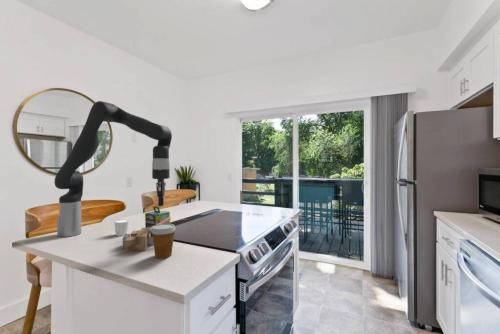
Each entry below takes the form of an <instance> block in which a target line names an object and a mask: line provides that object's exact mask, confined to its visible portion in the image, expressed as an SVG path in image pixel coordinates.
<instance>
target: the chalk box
mask: <svg viewBox="0 0 500 334" xmlns="http://www.w3.org/2000/svg"><path fill="white" fill-rule="evenodd" d="M152 208H153V211H150V212H146V213H145V215H144V219H145V222H144V223H145V224H144V225H145V227H144V228H149V227H153V226H155V225H157V224H158V223H160V222H162V221H163V220H165V219H167V218H168V217H170V216H171V215H170V211H166V210H161V209H160V206H156V205H155V206H154V205H153V206H152ZM170 222H171V220H170V221H169V222H167V223H165V224H171V223H170ZM151 237H152V232H151Z"/></svg>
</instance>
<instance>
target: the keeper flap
mask: <svg viewBox="0 0 500 334" xmlns="http://www.w3.org/2000/svg"><path fill="white" fill-rule="evenodd" d="M169 221H170V222H171V221H172V216H171V215H170V217H168V218H167V219H165V220H163V221H162V222H160V223H158V224H165V223H167V222H169ZM158 224H157V225H158ZM151 229H152V227H151V228H150V229H149V231H148V233H151Z"/></svg>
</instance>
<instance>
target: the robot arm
mask: <svg viewBox="0 0 500 334" xmlns="http://www.w3.org/2000/svg"><path fill="white" fill-rule="evenodd" d="M104 122H106V123H117V124H122V125H123V126H126V127H127V128H129V129H130V130H133V131H134V132H136V133H139V134H142V135H145V136H146V137H148V138H150V139H152V140H156V141H157V144H156V145H154V146H153V148H152V162H151V163H152V164H151V169H152V172H151V174H152V175H151V177H152V179H154V180H157V182H156V183H155V188H156V195H157V199H158V200H157V201H158V202H157V203H158V204H157V207H163V206H164V204H165V203H164V199H165V192H166V186H167V185H166V184H167V183H166V182H165V180H167V179H170V178H171V177H170V174H171V173H170V165H171V164H170V159H169V158H170V148H171V142H172V139H173V133H172V130H171V129H170V128H169V127H168V126H165V125H161V124H159V123H155V122H152V121H151V120H150V119H149V120H148V119H146V118H143V117H140V116H138V115H134V114H133V113H132V114H131V113H129V112H127V111H125V110H124V109H122V108H121V107H119V106H117V105H116V104H113V103H110V102H106V101H102V100H101V101H100V100H99V101H96V102H94V104H93V105H92V106H91V108H90V111H89V113H88V116H87V118H86V121H85V123H84V126H83V128H82V130H81V132H80V134H79V136H78V138H77V139H76V141H75V143H74V144H73V147H72V150H71V151H70V153H69V154H68V156H67V158H66V159H65V161H64V163H63V164H62V165H61V167H60V168H59V170H58V171H57V173H56V175H55V177H54V182H53V183H54V185H55V188H57V189H58V190H68V191H67V192H66V193H65V194H63V195H61V196H60V197H59V198H58V204H59V205H58V210H59V211H58V213H59V214H58V215H59V216H58V217H57V219H56V221H57V222H56V223H57V226H56V229H57V231H56V233H57V237H63V238H66V237H73V236H74V237H75V236H78V235H80V234H81V233H82V197H83V194H84V193H83V191H84V176H83V174H82V173H81V172H80V171H77V169H78V168H80V167H81V166H83V165H84V164H85V163H87V162H88V161H89V160H91V159H92V158H93V156H94V155H95V153H96V151H97V150H98V148H99V145H100V142H99V130H100V127H101V125H102V124H103V123H104Z"/></svg>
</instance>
